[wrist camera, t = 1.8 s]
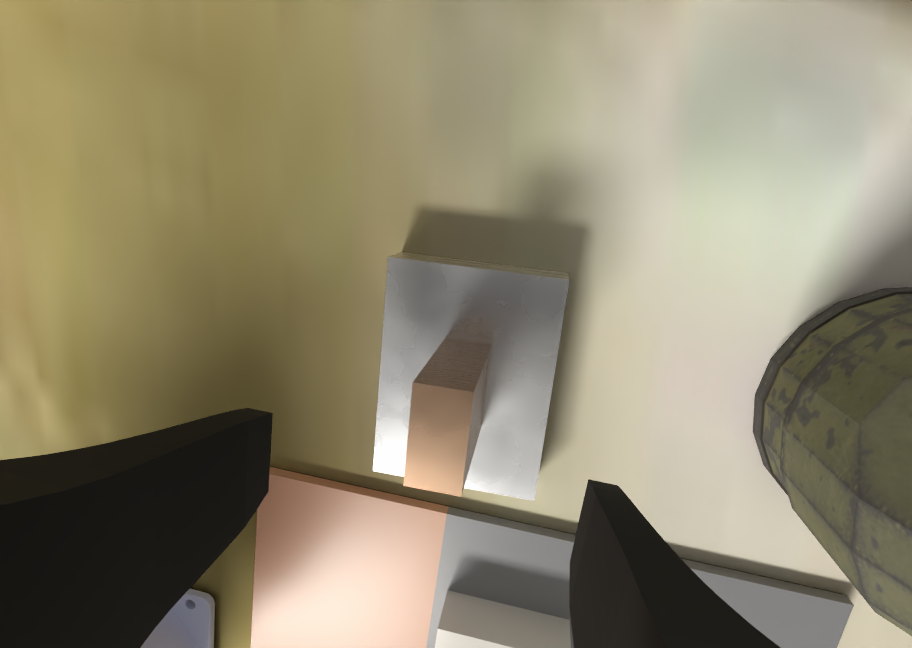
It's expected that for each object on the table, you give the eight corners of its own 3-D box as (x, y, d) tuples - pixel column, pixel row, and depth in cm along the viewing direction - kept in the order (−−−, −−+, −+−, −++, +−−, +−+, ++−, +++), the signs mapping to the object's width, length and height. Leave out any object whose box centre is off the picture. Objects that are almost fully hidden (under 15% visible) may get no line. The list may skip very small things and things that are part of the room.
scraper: (388, 446, 21) (323, 548, 15) (403, 251, 19) (336, 275, 13) (535, 472, 20) (530, 592, 14) (566, 271, 18) (578, 307, 12)
